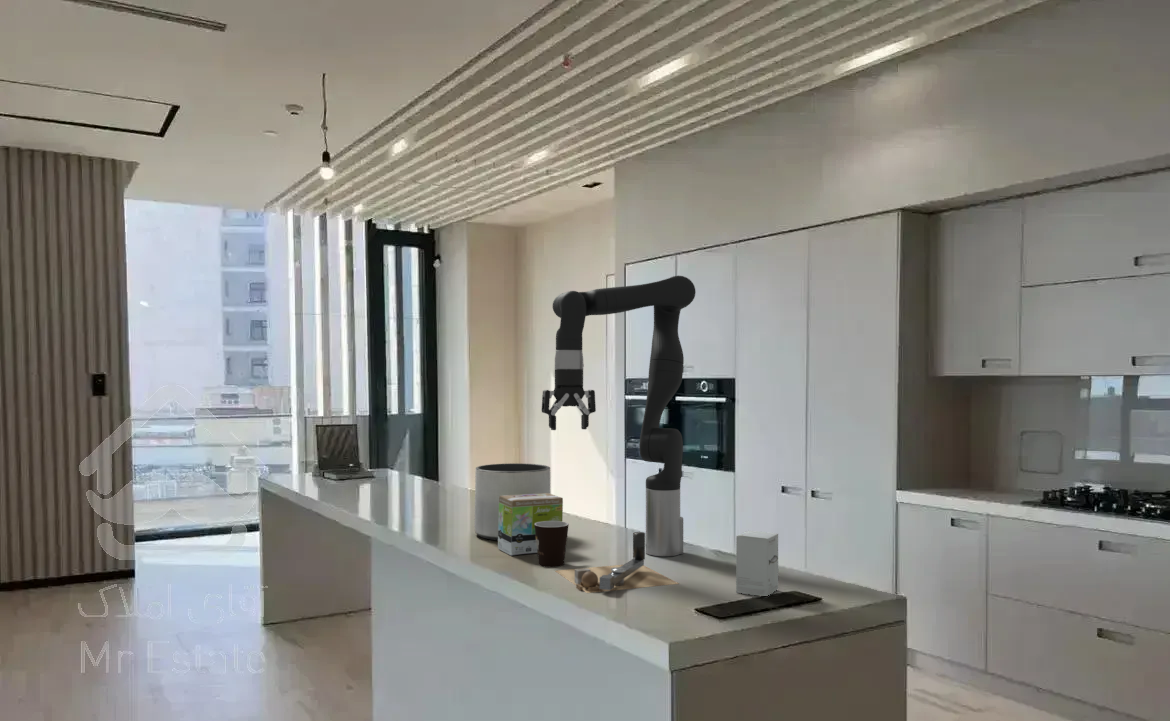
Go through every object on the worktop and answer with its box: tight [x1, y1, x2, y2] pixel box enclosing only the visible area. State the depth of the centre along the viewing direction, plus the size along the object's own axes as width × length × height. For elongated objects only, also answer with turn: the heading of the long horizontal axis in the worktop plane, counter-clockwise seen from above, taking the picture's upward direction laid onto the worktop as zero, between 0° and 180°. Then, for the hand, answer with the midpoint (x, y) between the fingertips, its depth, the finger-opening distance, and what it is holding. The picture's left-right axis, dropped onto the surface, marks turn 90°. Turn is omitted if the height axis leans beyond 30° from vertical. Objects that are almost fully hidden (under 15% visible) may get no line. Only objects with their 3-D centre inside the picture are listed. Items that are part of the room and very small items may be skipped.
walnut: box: [582, 571, 598, 588], centre depth 176 cm, size 4×4×4 cm
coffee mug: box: [534, 521, 570, 568], centre depth 205 cm, size 12×9×10 cm
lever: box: [600, 531, 646, 590], centre depth 182 cm, size 24×3×8 cm, turn 157°
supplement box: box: [735, 530, 779, 597], centre depth 178 cm, size 7×7×13 cm
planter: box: [473, 462, 551, 541], centre depth 241 cm, size 23×23×20 cm
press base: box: [554, 564, 680, 594], centre depth 185 cm, size 23×21×4 cm
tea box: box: [497, 493, 564, 556], centre depth 220 cm, size 15×10×15 cm, turn 117°
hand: (568, 429), depth 212 cm, fingers open, 8 cm apart
